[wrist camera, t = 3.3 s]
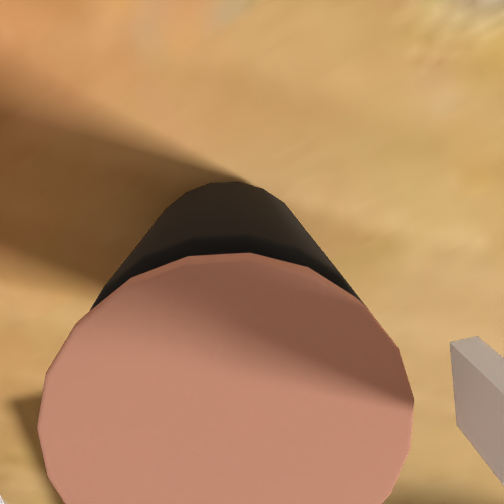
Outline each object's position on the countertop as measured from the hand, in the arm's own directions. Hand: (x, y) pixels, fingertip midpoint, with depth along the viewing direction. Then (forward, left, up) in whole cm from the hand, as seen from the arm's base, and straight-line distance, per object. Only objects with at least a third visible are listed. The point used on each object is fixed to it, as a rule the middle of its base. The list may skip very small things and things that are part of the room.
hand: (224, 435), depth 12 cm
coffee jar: (0, 0, -18) cm, 18 cm away
